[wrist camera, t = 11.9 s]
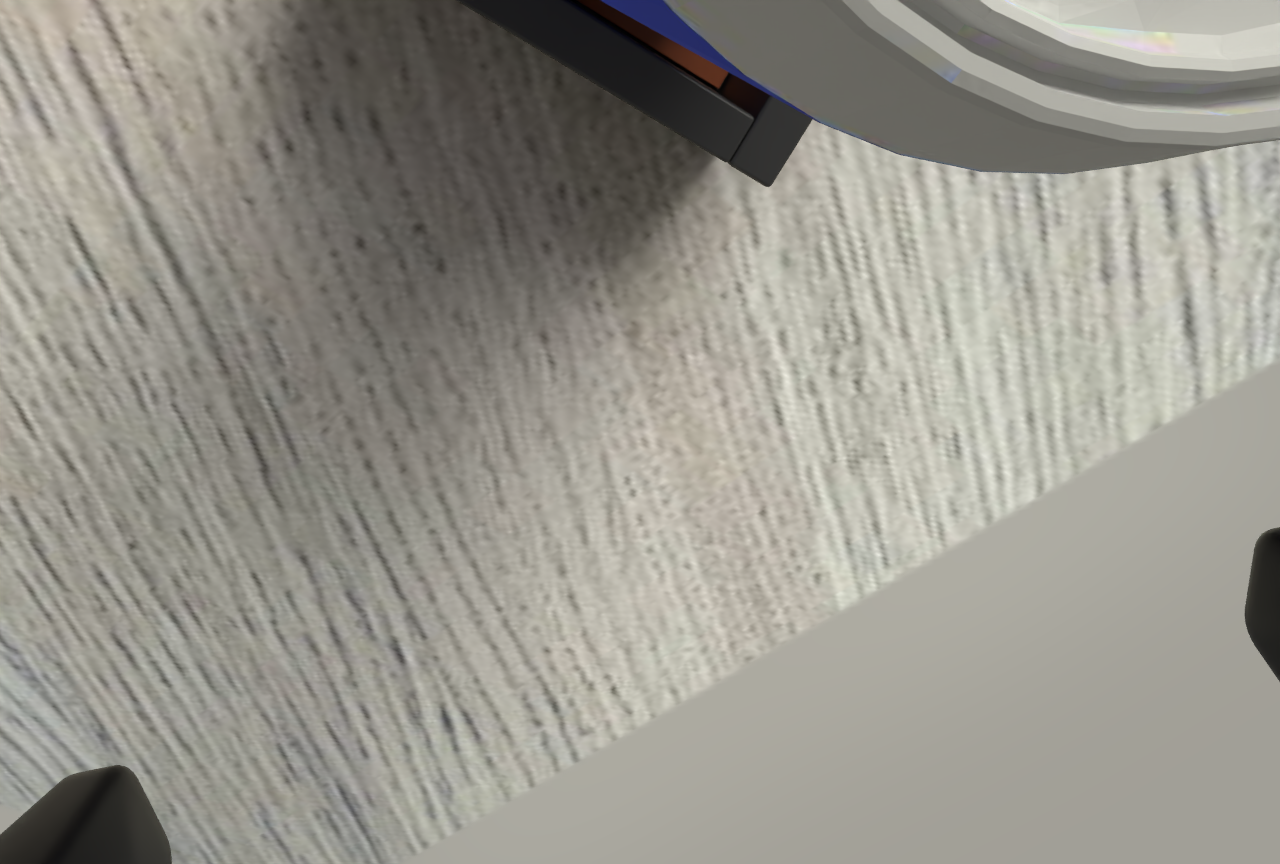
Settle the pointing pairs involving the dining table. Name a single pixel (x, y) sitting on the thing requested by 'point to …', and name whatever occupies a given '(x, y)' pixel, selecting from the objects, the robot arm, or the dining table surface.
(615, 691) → the dining table surface
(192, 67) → the dining table surface
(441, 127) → the dining table surface
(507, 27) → the holder
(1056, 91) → the beverage can
